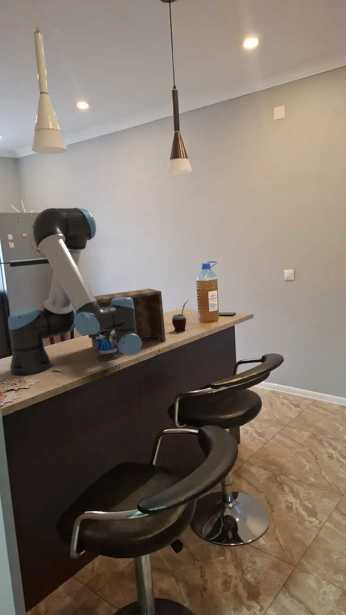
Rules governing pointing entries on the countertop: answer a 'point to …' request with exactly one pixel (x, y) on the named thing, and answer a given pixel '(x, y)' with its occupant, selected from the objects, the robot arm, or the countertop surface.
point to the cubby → (141, 312)
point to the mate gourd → (179, 321)
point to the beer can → (105, 347)
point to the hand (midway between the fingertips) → (102, 328)
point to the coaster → (108, 356)
